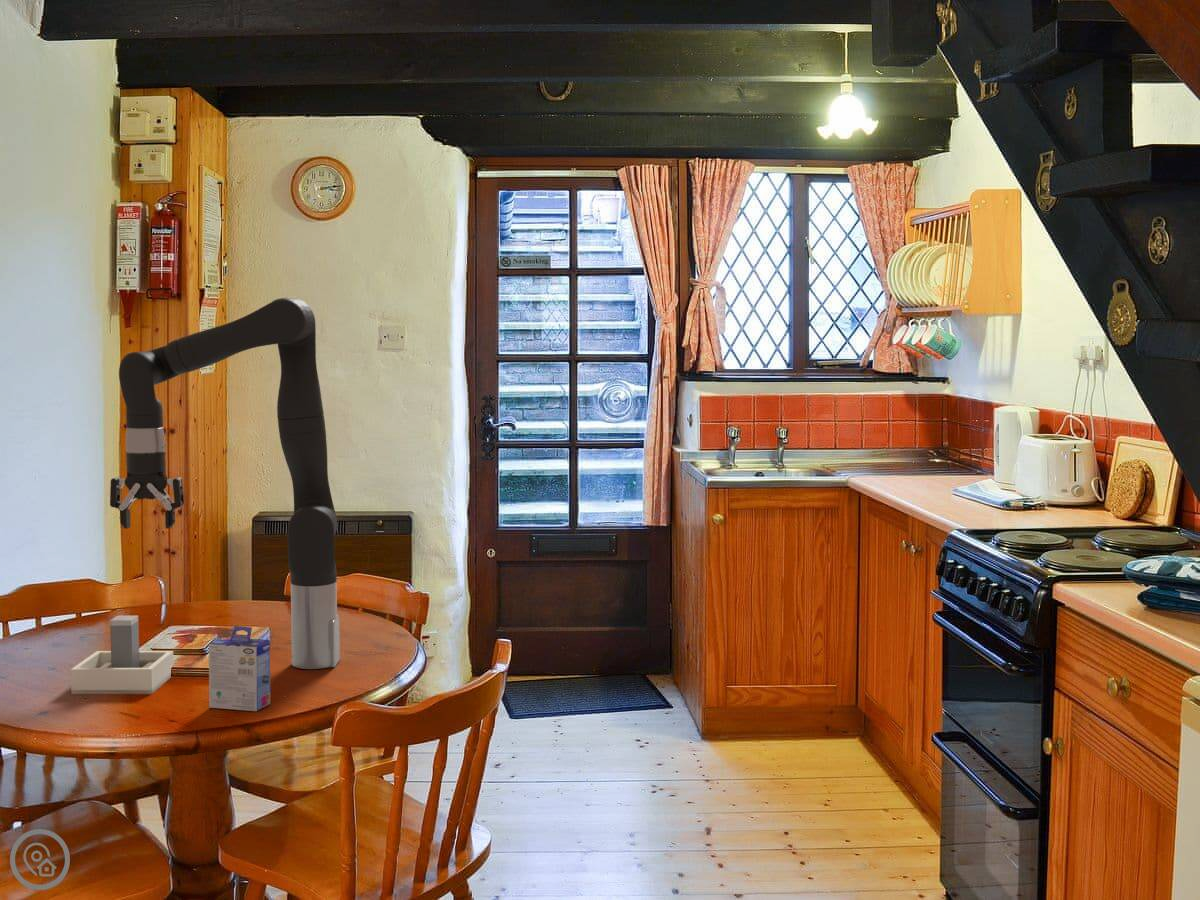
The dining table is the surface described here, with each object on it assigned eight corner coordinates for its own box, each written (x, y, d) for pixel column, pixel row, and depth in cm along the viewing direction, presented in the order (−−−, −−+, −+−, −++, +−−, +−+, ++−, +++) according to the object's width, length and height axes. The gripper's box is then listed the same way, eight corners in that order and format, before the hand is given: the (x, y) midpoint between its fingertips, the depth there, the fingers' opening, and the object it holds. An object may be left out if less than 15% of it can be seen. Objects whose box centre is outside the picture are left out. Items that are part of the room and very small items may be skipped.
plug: (139, 675, 236) (138, 615, 235) (133, 681, 232) (131, 620, 231) (119, 675, 236) (117, 615, 235) (111, 681, 232) (110, 620, 231)
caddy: (173, 674, 240) (173, 651, 239) (152, 694, 227) (151, 669, 226) (97, 674, 239) (96, 651, 239) (71, 694, 226) (70, 669, 226)
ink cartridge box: (272, 703, 222) (271, 626, 220) (258, 712, 216) (256, 634, 215) (223, 699, 224) (222, 623, 222) (208, 708, 218) (206, 630, 217)
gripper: (103, 451, 241) (106, 531, 242) (175, 451, 241) (177, 531, 243) (117, 447, 248) (119, 525, 250) (186, 447, 249) (188, 525, 250)
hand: (148, 528), depth 246 cm, fingers open, 8 cm apart
